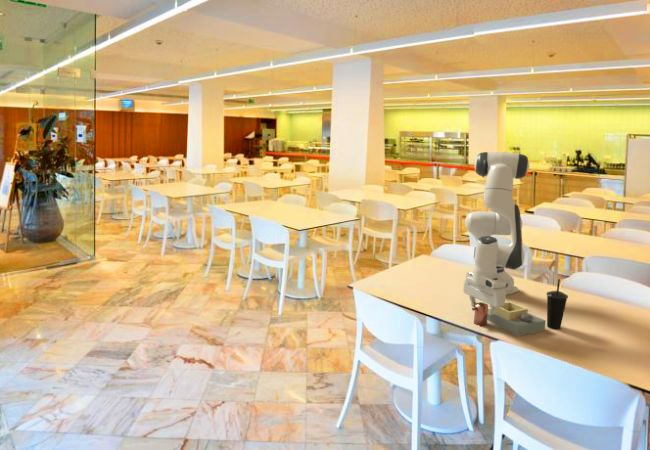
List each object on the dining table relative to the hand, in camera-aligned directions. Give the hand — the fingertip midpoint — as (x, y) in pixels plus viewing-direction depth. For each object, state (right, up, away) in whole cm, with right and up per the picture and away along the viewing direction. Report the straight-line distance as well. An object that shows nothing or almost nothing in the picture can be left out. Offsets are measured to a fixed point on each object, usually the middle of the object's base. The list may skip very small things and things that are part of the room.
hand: (481, 310), depth 192 cm
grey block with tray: (+13, -6, +1) cm, 15 cm away
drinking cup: (+28, -7, -1) cm, 29 cm away
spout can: (0, -6, +2) cm, 6 cm away
